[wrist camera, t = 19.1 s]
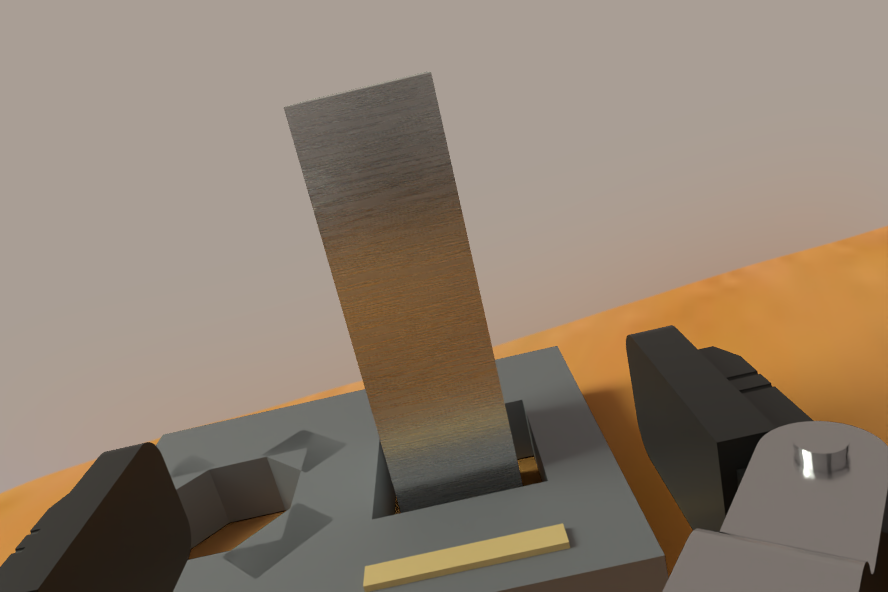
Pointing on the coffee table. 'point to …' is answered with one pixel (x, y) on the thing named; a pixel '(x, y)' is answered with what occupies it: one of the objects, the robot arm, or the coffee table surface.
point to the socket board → (419, 531)
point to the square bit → (407, 287)
